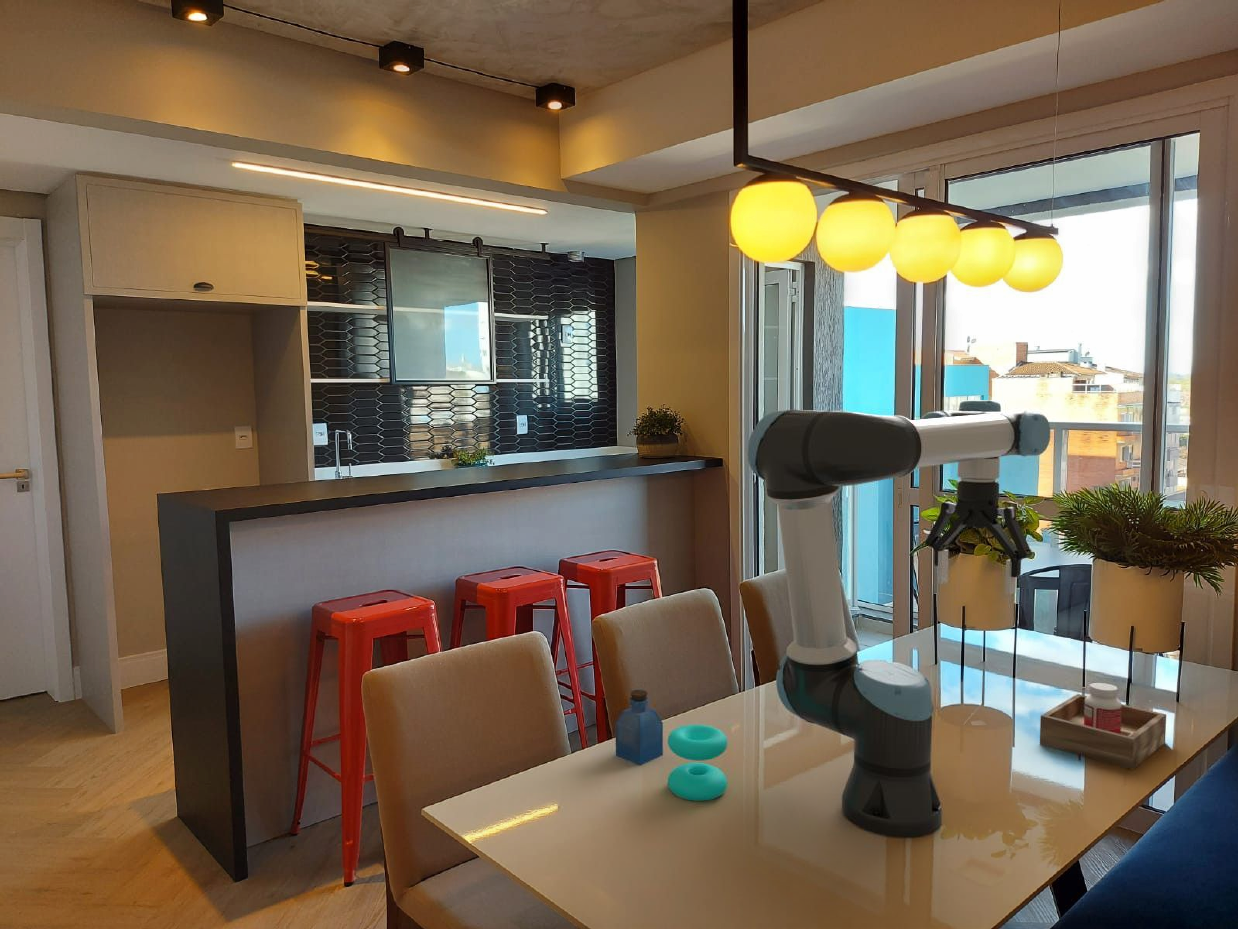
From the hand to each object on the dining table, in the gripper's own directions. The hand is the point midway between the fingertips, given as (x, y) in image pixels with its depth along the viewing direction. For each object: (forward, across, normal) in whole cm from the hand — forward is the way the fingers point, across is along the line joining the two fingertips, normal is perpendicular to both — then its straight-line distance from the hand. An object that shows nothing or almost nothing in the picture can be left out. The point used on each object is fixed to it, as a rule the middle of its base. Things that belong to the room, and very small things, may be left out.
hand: (975, 588), depth 173 cm
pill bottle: (+29, -20, -12) cm, 37 cm away
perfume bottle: (+29, +36, +56) cm, 73 cm away
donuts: (+29, +19, +59) cm, 69 cm away
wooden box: (+29, -20, -12) cm, 37 cm away
